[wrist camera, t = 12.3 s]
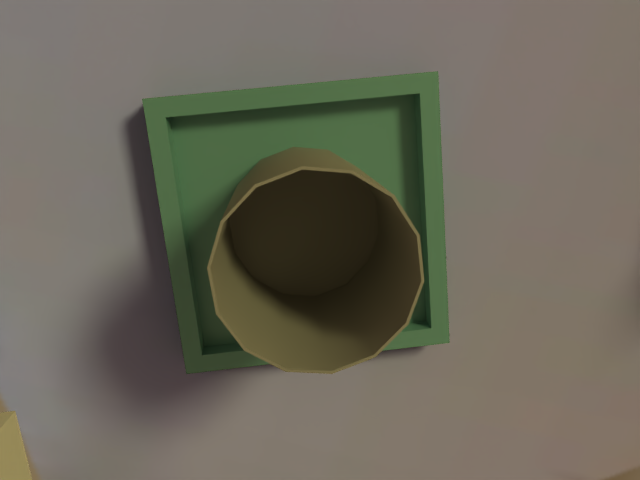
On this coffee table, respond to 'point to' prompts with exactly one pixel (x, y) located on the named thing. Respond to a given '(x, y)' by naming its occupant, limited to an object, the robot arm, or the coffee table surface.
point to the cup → (314, 263)
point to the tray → (273, 137)
